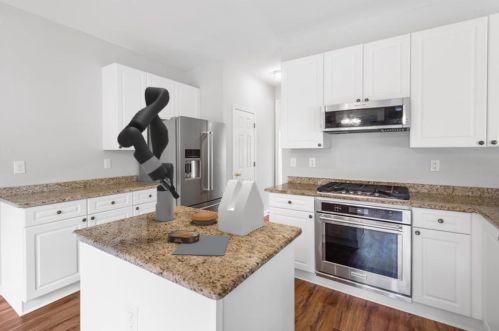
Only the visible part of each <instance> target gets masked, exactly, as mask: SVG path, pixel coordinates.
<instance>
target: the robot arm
mask: <svg viewBox="0 0 499 331" xmlns="http://www.w3.org/2000/svg"><path fill="white" fill-rule="evenodd" d="M169 101H170V92H169V91H168V89H166V87H165V88H164V87H156V86H148V87H145V89H144V102H145V107H143V108H141V109H140V110H138V111H137V112H136V113H135V114H134V115H133V116H132V118H131V120H130V122H129V123H128V124H127V125H125V127H124V128H123V129H122V130H121V131H120V132H119V133H118V135H117V139H116V140H117V143H118V146H120V147H121V148H125V149H128V148H129V149H130V148H132V147H133V148H134V152H133V157H134V158H135V160H136V161H137V162H138V164H139V165H140V166H141V168H142V170H143V171H144V172H145V173H146V175H148V177H149V178H150V180H151V181H153V182H157V181H159V182H158V184H157V186H156V203H155V221H156V222H170V221H173V220H174V218H175V217H174V216H175V215H174V213H175V212H174V211H175V209H174V207H175V206H174V199H175V200H178V199H179V198H180V195H179V193H178V192H177V191H176V187H175V186H174V172H175V167H174V164H173V163H172V162H161V161H160V159H161V156H162V154H163V153H164V151H165V150H166V148H167V146H168V145H169V141H170V140H169V130H168V128H167V125H166V124H165V122H163V120H162V118H161V117H160V116H159V113H161V112H162V111H163V110H164V109H165V108H166V107H167V106H168V104H169ZM148 126H149V135H150V142H151V149H152V150H151V149H150V148H149V146H148V144H147V141H146V139H145V136H144V135H143V133H144V132H145V131H146V130H147V128H148Z"/></svg>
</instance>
